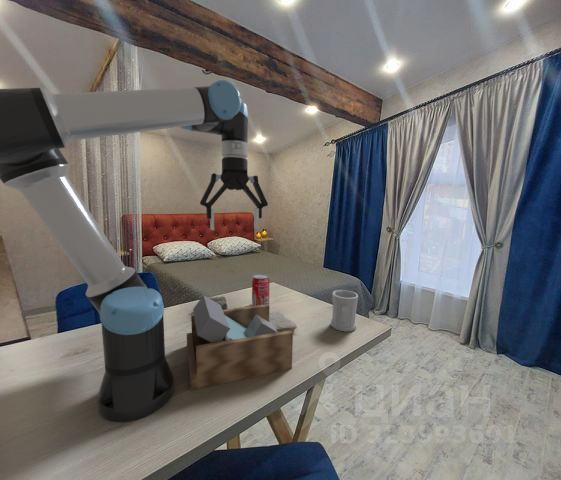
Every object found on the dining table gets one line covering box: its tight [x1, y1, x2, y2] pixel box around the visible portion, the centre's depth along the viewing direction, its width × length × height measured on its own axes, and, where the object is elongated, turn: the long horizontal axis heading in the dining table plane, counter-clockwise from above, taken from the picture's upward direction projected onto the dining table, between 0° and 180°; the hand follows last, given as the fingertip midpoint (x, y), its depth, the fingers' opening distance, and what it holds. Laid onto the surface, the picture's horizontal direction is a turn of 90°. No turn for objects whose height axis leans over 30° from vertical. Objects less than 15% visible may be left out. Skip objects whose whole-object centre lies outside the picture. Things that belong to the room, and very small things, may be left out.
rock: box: [208, 295, 228, 310], centre depth 107 cm, size 13×9×6 cm, turn 55°
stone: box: [269, 311, 298, 333], centre depth 97 cm, size 15×11×3 cm
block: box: [244, 315, 277, 337], centre depth 79 cm, size 6×6×6 cm
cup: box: [330, 289, 359, 333], centre depth 95 cm, size 10×9×12 cm
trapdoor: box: [192, 294, 247, 343], centre depth 76 cm, size 23×17×5 cm
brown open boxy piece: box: [186, 304, 294, 391], centre depth 76 cm, size 26×20×10 cm
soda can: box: [251, 273, 270, 306], centre depth 113 cm, size 7×7×13 cm
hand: (235, 229), depth 84 cm, fingers open, 13 cm apart
